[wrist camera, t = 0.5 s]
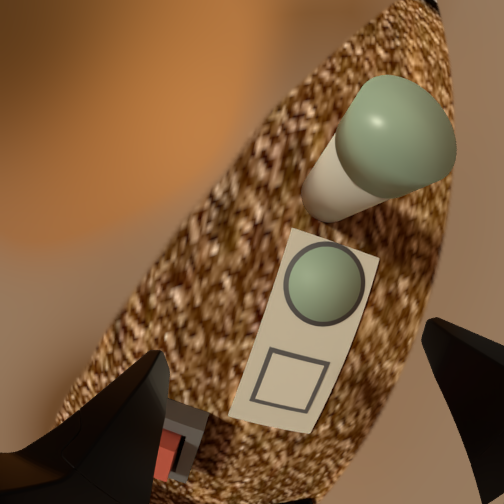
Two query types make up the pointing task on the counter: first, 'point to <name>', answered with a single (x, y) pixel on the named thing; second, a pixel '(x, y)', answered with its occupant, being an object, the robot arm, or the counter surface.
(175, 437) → the button
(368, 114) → the ball
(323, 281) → the colouring card
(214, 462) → the counter surface
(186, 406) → the button housing
